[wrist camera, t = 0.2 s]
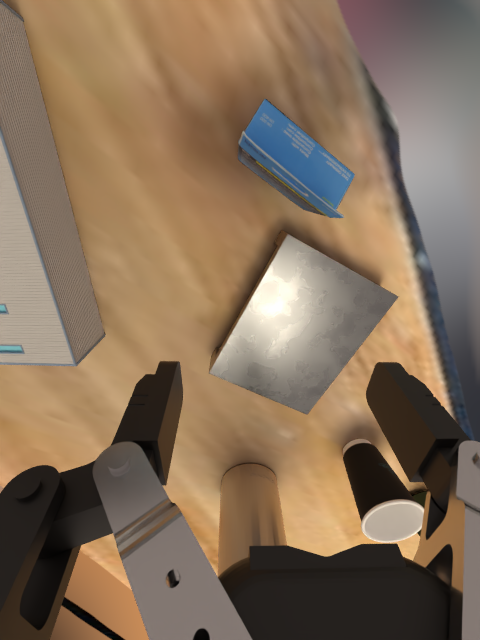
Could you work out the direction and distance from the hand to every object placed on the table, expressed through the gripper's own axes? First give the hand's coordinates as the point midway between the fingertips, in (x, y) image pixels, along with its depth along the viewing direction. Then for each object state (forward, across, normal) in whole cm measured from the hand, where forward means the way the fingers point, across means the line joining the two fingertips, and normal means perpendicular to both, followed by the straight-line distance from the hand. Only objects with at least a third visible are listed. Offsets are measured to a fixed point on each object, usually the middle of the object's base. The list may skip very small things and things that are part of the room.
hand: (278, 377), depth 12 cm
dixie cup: (+19, +18, -32) cm, 41 cm away
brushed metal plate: (+21, +6, -10) cm, 24 cm away
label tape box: (+24, +3, +6) cm, 25 cm away
